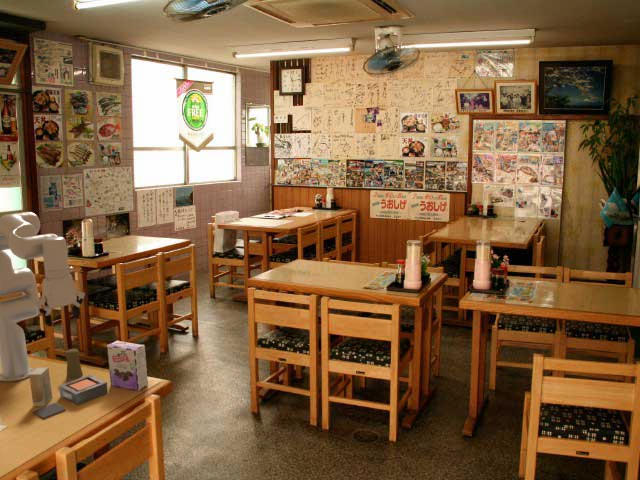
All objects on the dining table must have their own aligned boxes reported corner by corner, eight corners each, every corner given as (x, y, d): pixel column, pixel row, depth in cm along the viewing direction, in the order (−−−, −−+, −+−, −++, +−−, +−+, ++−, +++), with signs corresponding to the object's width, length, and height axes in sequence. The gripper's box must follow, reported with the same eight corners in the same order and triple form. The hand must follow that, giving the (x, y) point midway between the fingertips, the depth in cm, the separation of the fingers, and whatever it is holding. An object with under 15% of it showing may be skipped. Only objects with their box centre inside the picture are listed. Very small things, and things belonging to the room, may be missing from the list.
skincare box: (41, 398, 219) (37, 367, 217) (53, 398, 219) (49, 366, 217) (32, 406, 213) (28, 374, 211) (44, 406, 213) (40, 374, 211)
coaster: (32, 412, 209) (32, 411, 208) (55, 404, 215) (54, 402, 214) (43, 419, 203) (43, 417, 203) (66, 410, 209) (66, 408, 209)
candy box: (110, 386, 228) (105, 344, 225) (121, 380, 234) (117, 339, 231) (138, 391, 223) (134, 349, 219) (149, 385, 228) (145, 344, 225)
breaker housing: (59, 397, 220) (58, 385, 219) (90, 385, 229) (89, 374, 228) (76, 406, 212) (75, 394, 211) (107, 394, 221) (106, 382, 221)
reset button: (69, 390, 220) (69, 385, 220) (87, 384, 225) (87, 379, 225) (79, 395, 215) (78, 390, 215) (97, 388, 221) (96, 383, 220)
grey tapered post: (77, 379, 235) (74, 353, 233) (63, 378, 236) (60, 352, 234) (86, 373, 241) (83, 347, 239) (72, 372, 242) (69, 346, 240)
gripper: (76, 267, 212) (81, 313, 215) (26, 277, 199) (32, 326, 202) (87, 269, 207) (92, 317, 211) (37, 280, 194) (43, 331, 198)
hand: (63, 321), depth 206 cm, fingers open, 9 cm apart
